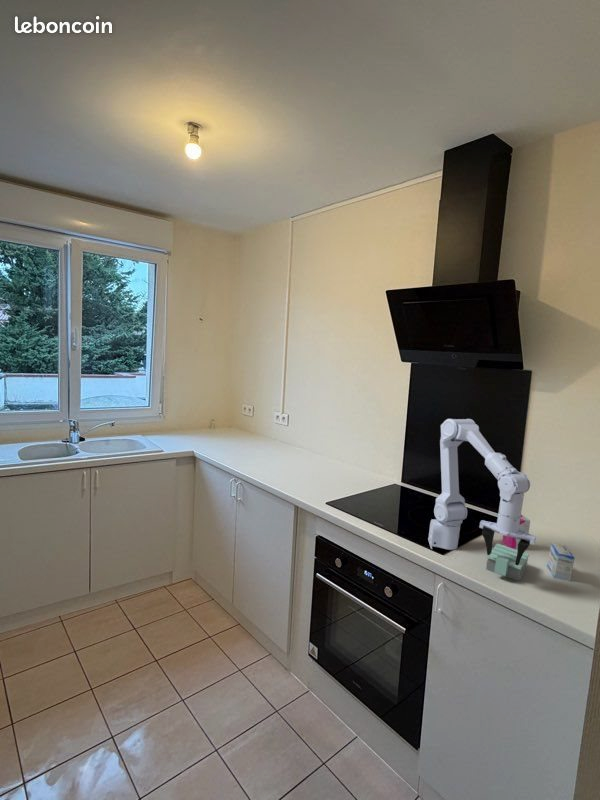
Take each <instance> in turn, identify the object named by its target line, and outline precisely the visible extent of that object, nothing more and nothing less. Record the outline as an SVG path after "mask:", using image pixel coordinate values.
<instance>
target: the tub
mask: <svg viewBox="0 0 600 800" xmlns="http://www.w3.org/2000/svg"><path fill="white" fill-rule="evenodd" d="M528 560H529V557H528V558H527V560H526V561H525V563H524V565H523V566H522V568H521V570H520V569H517V568H514V567H511V566H508V570H507V574H506V576H504V575H501V574H498V573H496V572H494V570H495V564H496V561H495V560H492V559H489V558H487V560H486V568H485V570H486V571H490V572H492V573H494V574H498V576H499V575H500V576H503V577H504V578H508V579H510V580H512V581H513V580H514V581H515V582H520V580H521V578H522V577H523V574H524V573H525V571H526V570H527V567H528Z"/></svg>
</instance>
